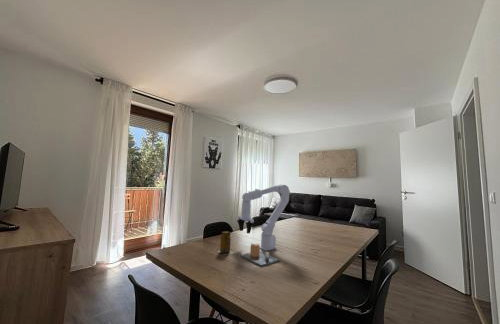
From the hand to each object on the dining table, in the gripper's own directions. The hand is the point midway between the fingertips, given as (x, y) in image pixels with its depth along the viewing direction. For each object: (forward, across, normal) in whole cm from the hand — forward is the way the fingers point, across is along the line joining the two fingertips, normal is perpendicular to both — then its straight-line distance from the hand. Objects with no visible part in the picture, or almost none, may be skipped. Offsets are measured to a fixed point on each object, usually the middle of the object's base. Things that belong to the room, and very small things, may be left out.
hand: (244, 232), depth 140 cm
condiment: (+11, 0, -14) cm, 18 cm away
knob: (+9, +16, -5) cm, 19 cm away
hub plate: (+10, +20, -4) cm, 23 cm away
